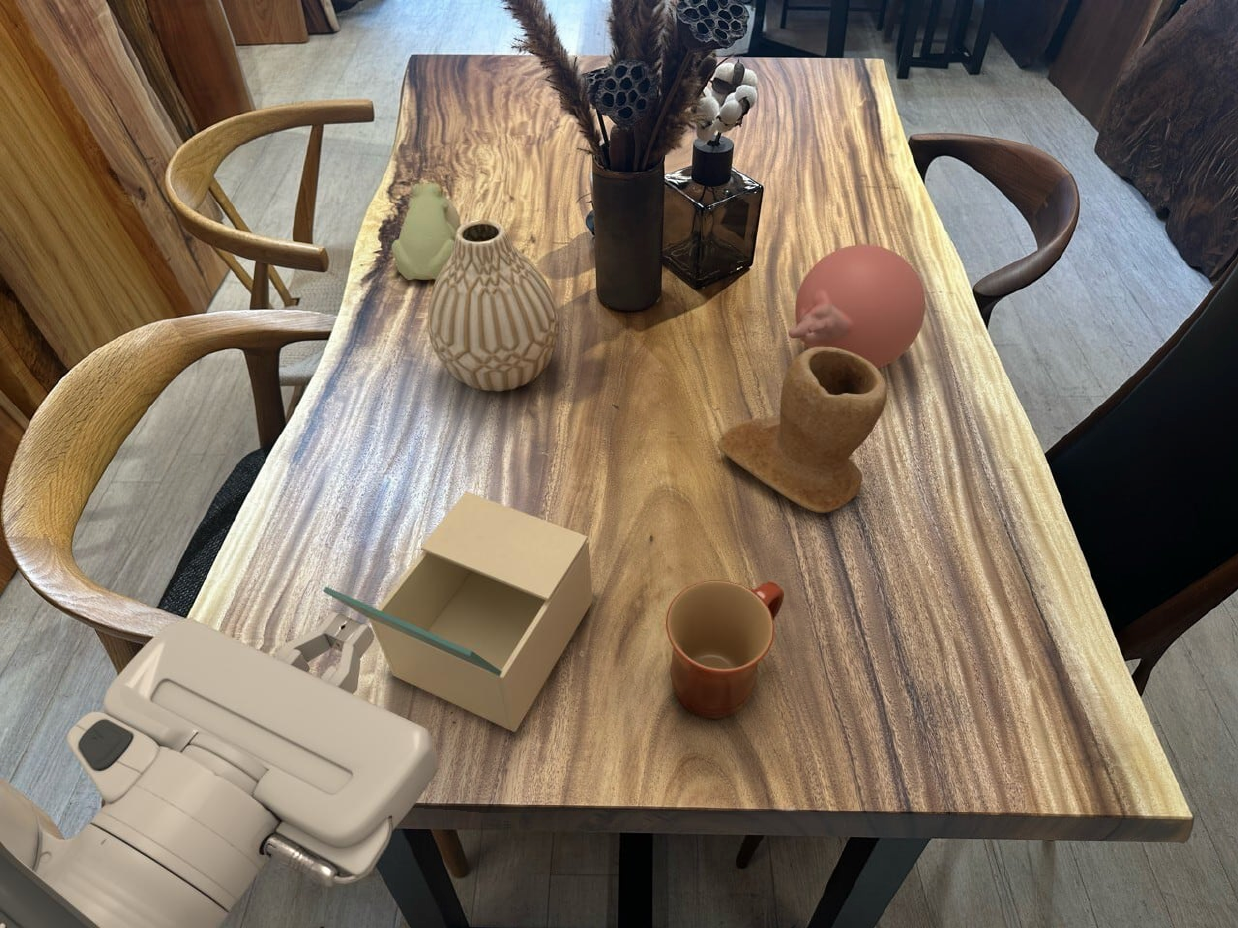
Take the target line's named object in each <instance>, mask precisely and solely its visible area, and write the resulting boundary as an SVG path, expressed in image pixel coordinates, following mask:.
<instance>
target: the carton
mask: <svg viewBox="0 0 1238 928" xmlns="http://www.w3.org/2000/svg"><path fill="white" fill-rule="evenodd" d="M588 540H589V537H588V536H587V535H585V534H582V533H579V532H577V531H574V530H572V529H569V528H566V527H563V526H560V525H558V524H555V523H552V522H549V521H547V520H545V519H542V518H540V517H537V516H533V515H531V514H528V513H525V512H523V511H521V510H517V509H515V508H512V507H509V506H507V505H504V504H501V503H500V502H499V503H498V502H495V501H493V500H491V499H488V498H485V497H483V496H480V495H477V494H475V493H472V492H469V491H464V493H463V494H462V495H461V496H460V498H459V499H458V500H457V502H455V504H454V505H453V506H452V507H451V509H450V510H449V511H448V512H447V514H446V515H445V516H444V517H443V519H442V520H441V521H440V522H439V524H438V525H437V526H436V527H435V529H434V530H433V531H432V532H431V533H430V535H429V536H428V537H427V538H426V540H425V541H424V542H423V543H422V545H421V546H420V550H421V551H422V552H421V553H420V554H419V555H418V556H417V557H416V559H415V560H414V562H413V563H412V564H411V566H410V567H409V568H407V570H406V571H405V573H404V574H403V575H402V577H401V578H400V579H399V580H398V581H397V583H396V584H395V585H394V587H393V588H392V589H391V590H390V591H389V593H388V594H387V595H386V597H384V599H383V600H382V601H381V603H380V604H379V605H378V606H377V607H376V609H378V610H380V611H382V612H385V613H387V614H389V615H391V616H394V617H396V618H398V619H400V620H403V621H405V622H407V623H410V624H412V625H414V626H416V627H419V628H421V629H423V630H425V631H428V632H430V633H432V634H435V635H437V636H439V637H441V638H444V639H446V640H448V641H450V642H453V643H455V644H457V645H460V646H462V647H464V648H466V649H469V650H471V651H473V652H474V653H476V654H477V655H479V656H480V657H481V658H483V659H484V660H486V661H487V662H489V663H490V664H492V665H493V666H495V667H496V668H497V669H499V670H500V671H502V673H501V675H500V676H498V675H496V674H493V673H491V672H489V671H487V670H484V669H482V668H480V667H478V666H475V665H473V664H471V663H469V662H466V661H464V660H462V659H460V658H457V657H455V656H453V655H451V654H448V653H446V652H444V651H442V650H440V649H437V648H435V647H433V646H431V645H428V644H426V643H424V642H422V641H419V640H417V639H415V638H413V637H410V636H408V635H406V634H404V633H401V632H399V631H397V630H395V629H392V628H390V627H388V626H386V625H383V624H381V623H379V622H377V621H374V620H372V619H370V618H368V620H369V623H370V625H371V628H372V630H373V631H374V632H373V633H374V635H375V636H376V639H377V641H378V643H379V646H380V648H381V651H382V653H383V655H384V657H385V660H386V663H387V665H388V667H389V670H390V672H391V674H392V676H394V678H398V679H399V680H402V681H403V682H406V683H408V684H410V685H412V686H415V687H417V688H419V689H421V690H423V691H426V692H427V693H430V694H431V695H433V696H436V697H438V698H440V699H442V700H445V701H447V702H449V703H451V704H453V705H455V706H457V707H460V708H462V709H464V710H466V711H468V712H470V713H473V714H475V715H477V716H478V717H480V718H483V719H484V720H487V721H490V722H492V723H494V724H496V725H498V726H501V727H502V728H505V729H507V730H509V731H511V732H513V733H516V732H517V731H518V729H519V727H520V725H521V724H522V722H523V720H524V718H525V717H526V716H527V714H528V712H529V710H530V708H531V707H532V705H533V703H534V702H535V700H536V698H537V696H538V695H539V693H540V691H541V690H542V688H543V686H544V685H545V683H546V681H547V679H548V678H549V676H550V674H551V673H552V671H553V669H554V667H555V666H556V664H557V662H558V661H559V659H560V657H561V656H562V654H563V652H564V651H565V649H566V647H567V646H568V644H569V642H570V640H571V639H572V637H573V636H574V634H575V632H576V630H577V628H578V627H579V625H580V623H581V622H582V620H583V618H584V617H585V615H586V614H587V612H588V610H589V608H590V607H591V605H592V603H593V590H592V589H593V588H592V570H591V556H590V555H591V554H590V553H591V552H590V542H589V541H588Z"/></svg>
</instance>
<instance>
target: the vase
mask: <svg viewBox="0 0 1238 928" xmlns="http://www.w3.org/2000/svg"><path fill="white" fill-rule="evenodd" d="M427 309H428V310H427V333H428V336H429V340H430V343H431V345H432V348H433V351H434V353H435V355H436V357H437V359H438V360H439V361H440V362H441V364H442V366H443V367H444V368H445V370H447V371H448V372H449V374H450V375H452V376H453V377H454V378H455V379H456V380H458V381H459V382H460V383H463V384H464V385H467V386H469V387H471V388H473V389H477V390H481V391H486V392H506V391H511V390H514V389H518V388H520V387H523V386H525V385H527V384H528V383H530V382H531V381H533V380H534V379H535V378H537V377H539V375H540V374H541V373H542V372H543V371H544V370H545V369H546V367H547V366H548V364H549V363H550V361H551V359H552V357H553V355H554V353H555V350H556V348H557V344H558V341H559V335H560V333H559V332H560V316H559V315H560V314H559V310H558V307H557V303H556V300H555V298H554V294H553V293H552V290H551V288H550V286H549V284H548V282H547V280H546V279H545V277H544V275H543V274H542V273H541V272H540V270H539V269H538V268H537V267H536V265H534V263H532V261H531V260H530V259H529V258H528V257H527V256H525V254H523V252H521V251H520V250H519V249H518V248H517V247H516V246H515V244H513V242H512V240H511V238H510V237H509V234H508V232H507V230H506V228H505V227H504V225H503V224H502V223H500V222H498V221H496V220H492V219H489V218H487V219H486V218H481V219H474V220H469V221H467V222H465V223H463V224H461V226H460V227H459V228H458V230H457V232H456V236H455V242H454V247H453V251H452V254H451V256H450V257H449V259H448V260H447V262H446V263H445V265H444V266H443V268H442V270H441V271H440V273H439V275H438V277H437V279H436V280H435V282H434V284H433V287H432V289H431V293H430V297H429V303H428V308H427Z"/></svg>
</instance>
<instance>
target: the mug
mask: <svg viewBox="0 0 1238 928" xmlns="http://www.w3.org/2000/svg"><path fill="white" fill-rule="evenodd" d="M784 598H785V591H784V589H782V587H781V586H779V585H778V584H777V583H775V582H774V581H767V582H764V583H763V584H761V585H760V586H758V587H757V588H754V589H749V587H746V586H745V585H742V584H740V583H739V582H738V583H737V582H734V581H728V580H720V579H711V580H704V581H700V582H696V583H694V584H692V585H689V586H687V587H686V588H684V589H683V590H682V591H680V592H679V593H678V594H677V595H676V596H675V597H674V599H673V600H672V602H671V603H670V605H669V608H668V610H667V612H666V613H667V614H666V619H665V627H666V633H667V637H668V640H669V642H670V644H671V646H672V652H671V661H670V668H669V675H670V680H671V684H672V689H673V691H674V694H675V696H676V698H677V700H678V701H679V702H680V704H681V705H682V706H683V707H684V708H685V709H686V710H687V711H689V712H690V713H692V714H694V715H696V716H698V717H701V718H706V719H713V720H714V719H723V718H727V717H729V716H731V715H732V716H733V714H736V713H737V712H738V711H739V710H741V708H742V707H743V706H744V705H745V704H746V702H747V701H748V699H749V698H750V696H751V695H752V693H753V690H754V688H755V684H756V677H757V673H758V666H759V663H760V662H761V661H762V660H763V659H764V658H765V656H767V654H768V652H769V650H770V649H771V646H772V644H773V641H774V636H775V624H774V621H775V619H776V617H777V616H778V614H779V611H780V610H781V608H782V605H783V602H784Z"/></svg>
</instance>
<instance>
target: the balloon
mask: <svg viewBox="0 0 1238 928" xmlns="http://www.w3.org/2000/svg"><path fill="white" fill-rule="evenodd" d="M794 305H795V306H794V307H795V308H794V310H795V311H794V315H795V324H796V325H795V326H794V328H791V329H790V330H789V331H788V337H790V339H799V340H800V342H802V343H803V344H804V346H805V347H806V348H807V350H808V349H810V348H813V347H834V348H839V349H843V350H846V351H849V352H852V353H854V354H856V355H859V356H860V357H862V358H864V359H866V360H867V361H869V362H870V363H872V364H873V365H874V366H875V367H876V368H877V369H880V368H882V367H885V366H887V365H889V364H891V363H892V362H894V361H896V360H897V359H898V358H900V357H901V356H903V354H904V353H905V352H907V351H908V349H910V348H911V346H912V345H913V344H914V342H915V341H916V339H917V338H918V335H919V333H920V331H921V329H922V326H923V323H924V320H925V313H926V296H925V289H924V286H923V284H922V281H921V279H920V276H919V275H918V273H917V272H916V270H915V269H914V268H913V266H912V265H911V264H910V263H909V261H907V260H906V259H905V258H903V256H901V255H900V254H898V253H897V252H894V251H893V250H891V249H888V248H886V247H883V246H879V245H873V244H853V245H848V246H845V247H842V248H839V249H837V250H834V251H832V252H830V253H828V254H827V255H825V256H823V257H822V258H821V259H820V260H819V261H818V262H816V263H815V264H814V265H813V266H812V268H810V270H809V271H808V272H807V273H806V275H805V276H804V278H803V280H802V282H801V284H800V287H799V289H798V292H797V295H796V299H795V304H794Z"/></svg>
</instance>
